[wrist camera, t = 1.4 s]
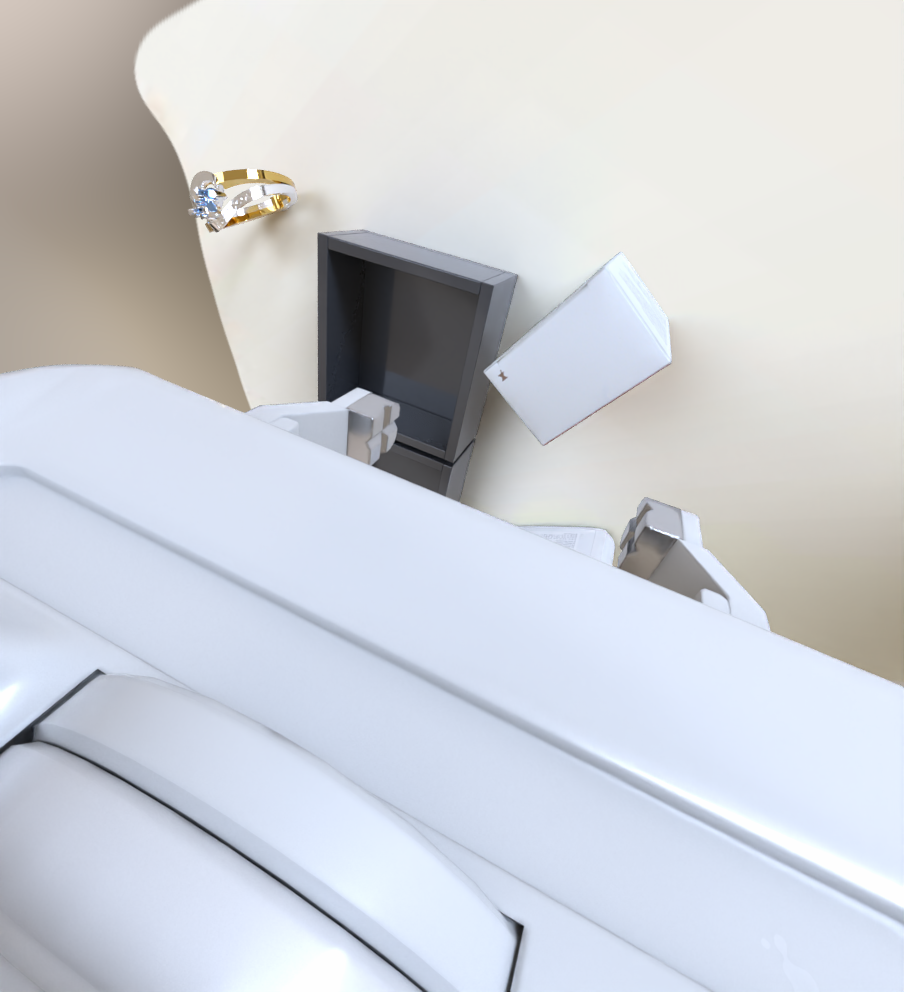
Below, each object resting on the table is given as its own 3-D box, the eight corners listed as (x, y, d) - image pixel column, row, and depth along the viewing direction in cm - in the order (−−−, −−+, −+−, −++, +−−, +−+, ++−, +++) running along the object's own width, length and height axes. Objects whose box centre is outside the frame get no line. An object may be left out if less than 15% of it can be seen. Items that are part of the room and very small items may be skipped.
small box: (570, 391, 33) (540, 450, 25) (525, 332, 32) (478, 374, 24) (672, 320, 28) (675, 365, 20) (622, 247, 27) (605, 264, 19)
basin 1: (518, 274, 30) (494, 285, 26) (476, 434, 38) (453, 463, 34) (362, 229, 33) (317, 232, 28) (354, 388, 41) (317, 409, 36)
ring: (262, 238, 36) (180, 244, 30) (244, 193, 35) (155, 190, 29) (325, 213, 33) (248, 215, 27) (309, 163, 32) (224, 152, 26)
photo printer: (510, 557, 44) (468, 653, 35) (502, 522, 42) (454, 613, 33) (617, 561, 39) (602, 674, 30) (613, 523, 38) (596, 630, 28)
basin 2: (475, 438, 38) (452, 467, 34) (449, 542, 46) (427, 576, 42) (354, 392, 41) (317, 414, 37) (348, 498, 49) (318, 526, 45)
